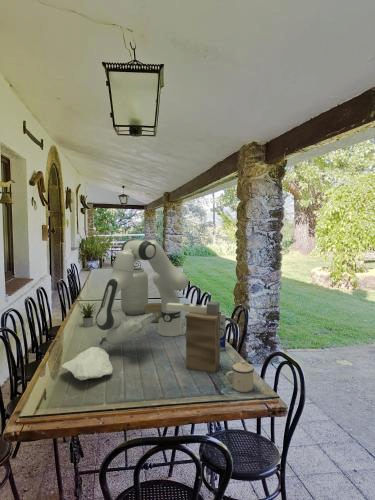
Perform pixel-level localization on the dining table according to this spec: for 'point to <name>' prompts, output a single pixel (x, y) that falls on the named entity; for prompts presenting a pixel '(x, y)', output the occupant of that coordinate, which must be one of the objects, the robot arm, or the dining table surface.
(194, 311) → the power strip
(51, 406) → the dining table surface
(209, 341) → the stand
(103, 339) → the walkie-talkie
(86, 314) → the house plant
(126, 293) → the vase
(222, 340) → the milk carton
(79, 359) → the crumpled cloth
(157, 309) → the planter bowl
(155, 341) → the dining table surface
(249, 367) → the teacup with lid
